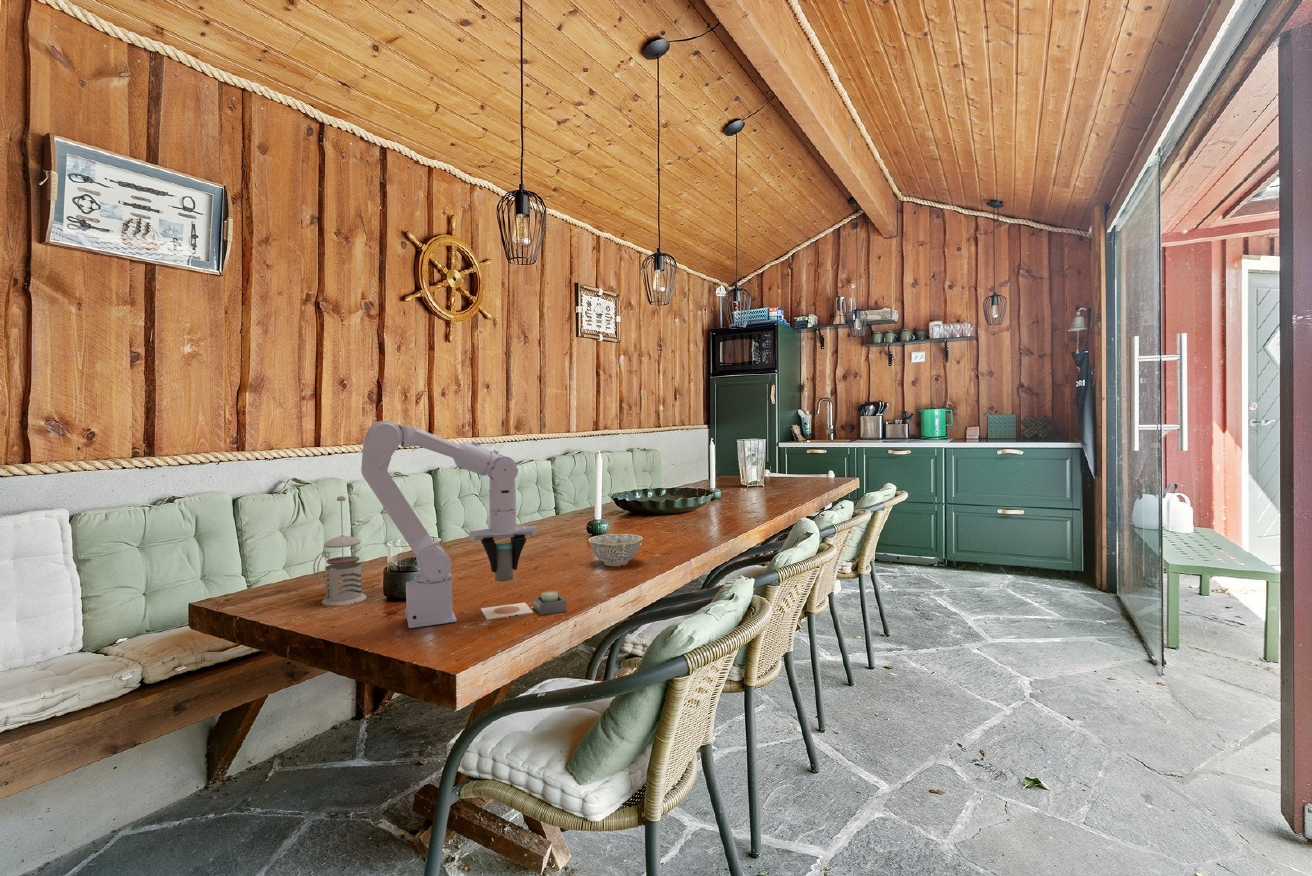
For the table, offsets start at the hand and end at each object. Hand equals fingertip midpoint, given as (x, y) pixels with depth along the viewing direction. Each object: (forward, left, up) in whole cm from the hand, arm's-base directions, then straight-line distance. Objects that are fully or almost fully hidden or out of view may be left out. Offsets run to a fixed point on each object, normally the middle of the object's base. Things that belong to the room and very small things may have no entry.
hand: (504, 570), depth 143 cm
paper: (0, -1, -9) cm, 9 cm away
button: (+9, -4, -7) cm, 12 cm away
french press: (-34, +26, -9) cm, 44 cm away
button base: (+9, -4, -9) cm, 13 cm away
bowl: (+38, +31, -9) cm, 50 cm away
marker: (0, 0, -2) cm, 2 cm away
